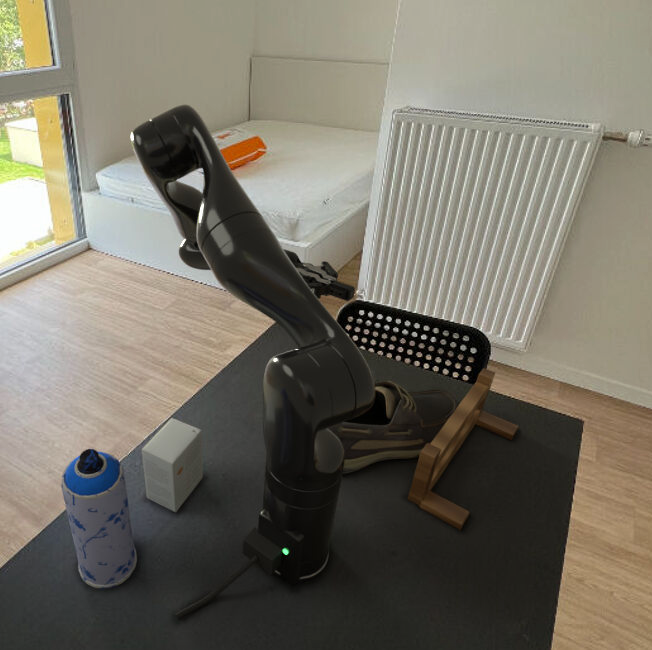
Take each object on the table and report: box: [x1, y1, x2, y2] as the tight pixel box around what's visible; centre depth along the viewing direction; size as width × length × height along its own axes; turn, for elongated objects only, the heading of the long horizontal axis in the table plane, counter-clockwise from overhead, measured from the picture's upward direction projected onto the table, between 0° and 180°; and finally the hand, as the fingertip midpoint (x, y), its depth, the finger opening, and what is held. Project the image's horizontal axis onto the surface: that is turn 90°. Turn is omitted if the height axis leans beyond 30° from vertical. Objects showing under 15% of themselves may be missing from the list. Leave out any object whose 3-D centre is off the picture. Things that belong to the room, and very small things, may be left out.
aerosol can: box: [60, 448, 138, 590], centre depth 67 cm, size 8×8×20 cm
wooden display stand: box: [407, 367, 519, 531], centre depth 84 cm, size 27×8×10 cm, turn 138°
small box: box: [141, 417, 204, 513], centre depth 80 cm, size 8×6×10 cm
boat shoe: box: [328, 380, 459, 475], centre depth 88 cm, size 11×29×11 cm, turn 115°
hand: (352, 294), depth 88 cm, fingers closed
